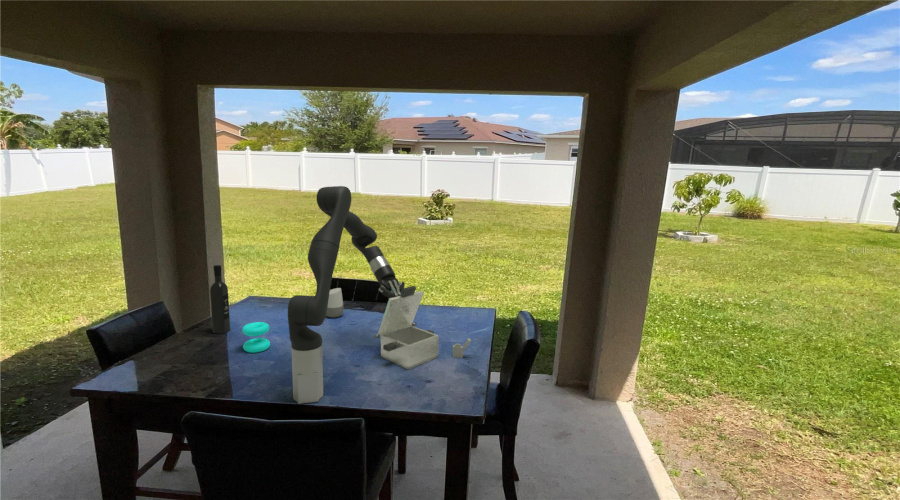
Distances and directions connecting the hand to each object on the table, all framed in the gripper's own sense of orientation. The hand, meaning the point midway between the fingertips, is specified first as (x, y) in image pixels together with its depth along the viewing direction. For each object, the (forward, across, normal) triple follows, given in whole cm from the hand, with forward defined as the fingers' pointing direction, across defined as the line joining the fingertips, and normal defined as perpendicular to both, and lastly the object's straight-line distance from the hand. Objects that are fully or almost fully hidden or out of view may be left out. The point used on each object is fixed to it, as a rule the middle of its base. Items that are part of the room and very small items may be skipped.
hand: (401, 305), depth 172 cm
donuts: (-17, -38, +46) cm, 62 cm away
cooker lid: (+2, 0, +1) cm, 2 cm away
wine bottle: (-38, -41, +67) cm, 87 cm away
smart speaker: (-27, +7, +56) cm, 62 cm away
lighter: (+28, +15, +1) cm, 32 cm away
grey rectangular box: (+18, 0, +11) cm, 21 cm away
